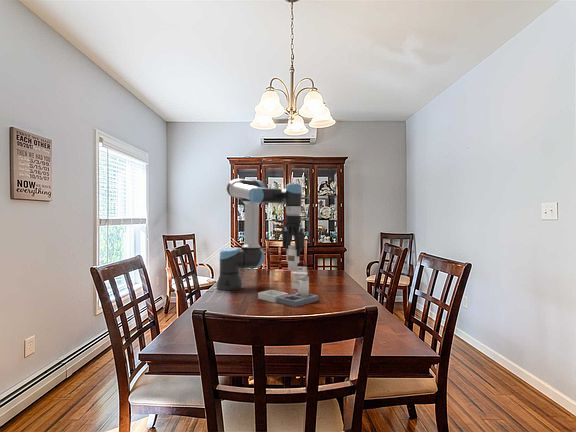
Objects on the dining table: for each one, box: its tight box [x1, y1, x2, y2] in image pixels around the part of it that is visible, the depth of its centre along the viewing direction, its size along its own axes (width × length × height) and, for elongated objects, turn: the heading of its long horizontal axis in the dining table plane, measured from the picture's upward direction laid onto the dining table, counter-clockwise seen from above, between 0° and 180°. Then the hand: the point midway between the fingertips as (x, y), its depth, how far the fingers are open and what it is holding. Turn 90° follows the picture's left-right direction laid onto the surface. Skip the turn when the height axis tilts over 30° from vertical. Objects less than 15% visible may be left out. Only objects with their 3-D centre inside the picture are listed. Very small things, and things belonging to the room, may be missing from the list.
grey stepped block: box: [291, 265, 309, 294], centre depth 201 cm, size 9×5×15 cm, turn 84°
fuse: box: [300, 276, 310, 297], centre depth 185 cm, size 5×5×12 cm
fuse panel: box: [276, 292, 320, 308], centre depth 182 cm, size 12×18×3 cm, turn 138°
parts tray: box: [257, 289, 289, 303], centre depth 187 cm, size 12×10×3 cm
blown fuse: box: [287, 244, 299, 272], centre depth 178 cm, size 5×5×12 cm
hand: (292, 262), depth 178 cm, fingers closed on blown fuse, 5 cm apart
